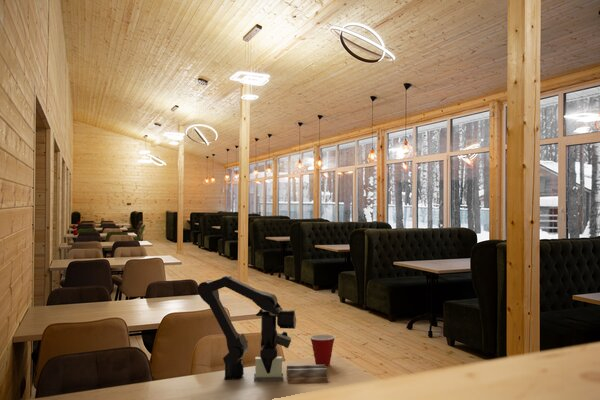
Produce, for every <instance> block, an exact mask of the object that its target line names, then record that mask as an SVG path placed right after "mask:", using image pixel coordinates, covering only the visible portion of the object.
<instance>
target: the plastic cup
mask: <svg viewBox="0 0 600 400" xmlns="http://www.w3.org/2000/svg"><path fill="white" fill-rule="evenodd" d="M309 339H310V341H311V345H312V352H313V357H314V362H315V365H325V366H328V365H329V366H330V364H331V359H332V354H333V347H334V342H335V339H336V335H333V334H314V335H311V336H309ZM329 366H328V367H329Z"/></svg>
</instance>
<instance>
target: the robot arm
mask: <svg viewBox="0 0 600 400" xmlns="http://www.w3.org/2000/svg"><path fill="white" fill-rule="evenodd" d="M223 288H226V289H229V290H231V291H233V292H235V293H237V294H239V295H241V296H243V297H245V298H246V299H249V300H250V301H252V302H253V303H255V305H256V306H258V307H259V308H260V309H259V310H258V312H257V313H256V314H255V316H256V317H261V318H260V319H261V321H260V322H261V324H260V326H261V327H260V330H261V331H260V348H259V350H260V351H259V352H260V354H259V357H261V359H262V362H263V364H264V367H265V369H266V372H267V373H270V371H271V366H272V361H273V360H274V359H275V358H276V357H278V348H277V347H278V345H279V346H282V347H284V348H285V349H289V348H290V344H291V342H292V338H291V337H290V336H288V332H286V331H282V333H280V332H279V333H278V330H277V326H278V328H280V329H288V330H289V329H291V330H293V329H296V325H297V317H296V310H294V309H291V310H287V309H285V310H284V309H283V308H282V307H281V305H280V303H279V301H278V296H276V295H275V294H273V293H270V292H268V291H263V290H259V289H255V288H254V287H252V286H250V285H248V284H246V283H244V282H242V281H240V280H237V279H236V278H234V277H232V276H231V275H224V276H222V277H221V278H219V279H215V280H212V279H211V280H210V279H209V280H208V279H207V280H205V281H202V282H200V283H199V284H198V286H197V289H196V291H197V295H198V296H199V297H200V298H201V300H202V301H203V302H204V303H206V304H207V305H208V307H209V308H210V310H211V313H212V314H213V316H214V317H215V319H216V322H217V323H218V326H219V328H220V329H221V332H222V333H223V335H224V337H225V341H226V347H227V351H228V353H227V354H226V355H224V356H223V358H222V359H223V362H224V377H223V379H224V380H241V379H242V377H243V376H244V363H243V359H242V358H243V356H244V355H245V354H246V353H247V352H248V349H249V345H248V343H249V341H248V340H247V338H246V337H245V334H244V333H243V332H242V333H241V334H240V333H238V332H237V330H236V328H235V326H234V324H233V323H232V321H231V318H230V317H229V315H228V313H227V310H226V309H225V307H224V306H223V304H222V301H221V299H220V293H219V292H220V291H219V290H220V289H223Z"/></svg>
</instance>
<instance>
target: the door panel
mask: <svg viewBox="0 0 600 400" xmlns="http://www.w3.org/2000/svg"><path fill="white" fill-rule="evenodd" d="M254 365H255V369H254V370H255V372H254V373H255V377H282V373H283V356H278V355H277V357H276V358H275V359H274V360H273V361H272V366H271V371H270V373H267V372H266V369H265V367H264V364H263V362H262V359H261V357H260V356H255V364H254Z"/></svg>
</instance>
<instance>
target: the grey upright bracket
mask: <svg viewBox="0 0 600 400" xmlns="http://www.w3.org/2000/svg"><path fill="white" fill-rule="evenodd" d="M283 381H284V373H283V372H282V377H255V372H254V376H253V382H255V383H256V382H283Z"/></svg>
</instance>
